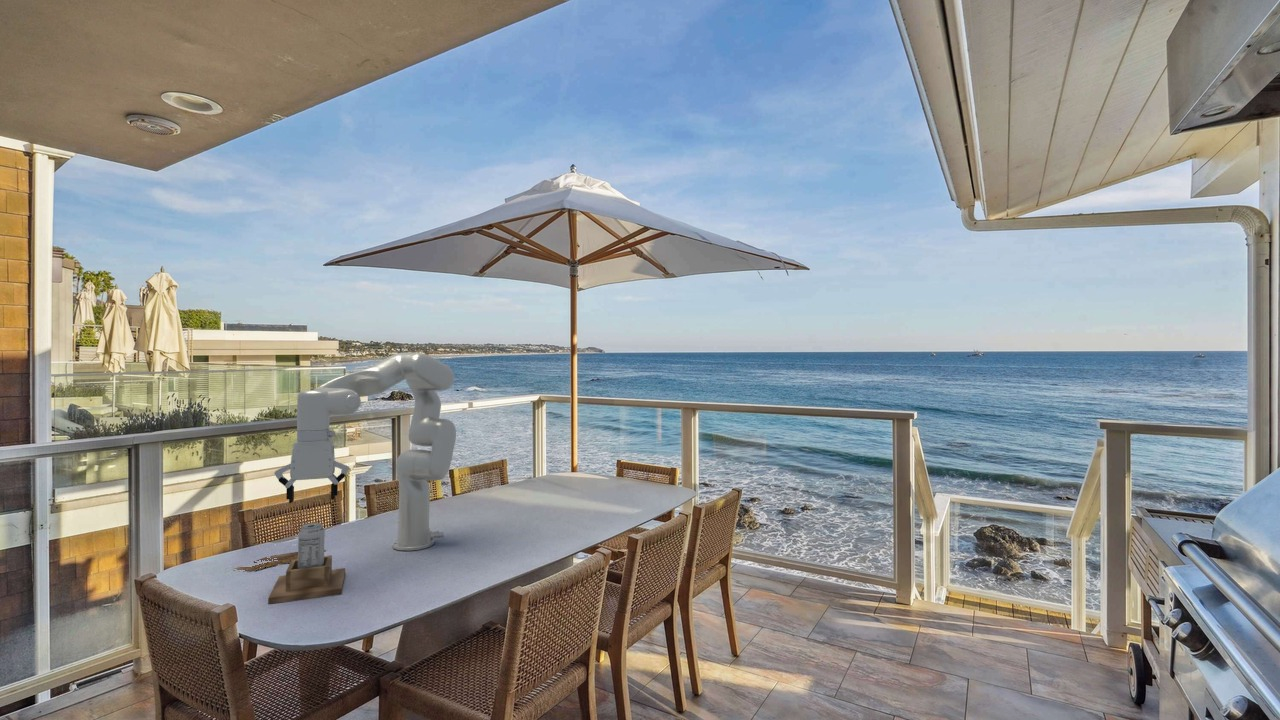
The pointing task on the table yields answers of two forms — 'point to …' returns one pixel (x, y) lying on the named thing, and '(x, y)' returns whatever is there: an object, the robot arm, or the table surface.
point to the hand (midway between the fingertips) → (312, 500)
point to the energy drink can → (311, 546)
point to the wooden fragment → (281, 560)
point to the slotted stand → (308, 582)
